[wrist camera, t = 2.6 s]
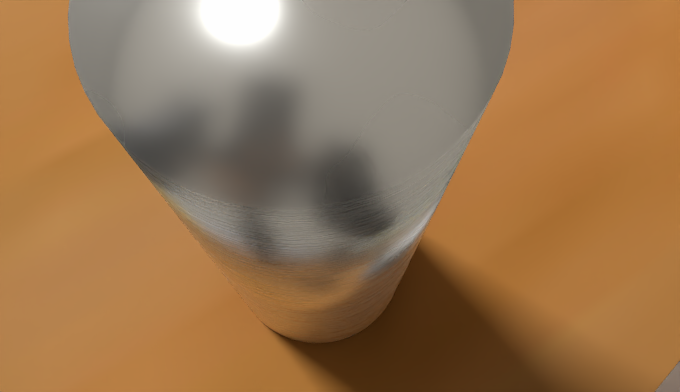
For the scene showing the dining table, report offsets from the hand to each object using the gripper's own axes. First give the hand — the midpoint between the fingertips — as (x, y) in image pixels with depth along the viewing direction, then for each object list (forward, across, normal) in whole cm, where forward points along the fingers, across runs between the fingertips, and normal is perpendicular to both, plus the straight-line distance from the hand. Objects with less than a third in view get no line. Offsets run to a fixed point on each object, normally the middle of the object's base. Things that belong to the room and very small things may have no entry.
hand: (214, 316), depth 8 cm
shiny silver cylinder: (+10, 0, +5) cm, 11 cm away
